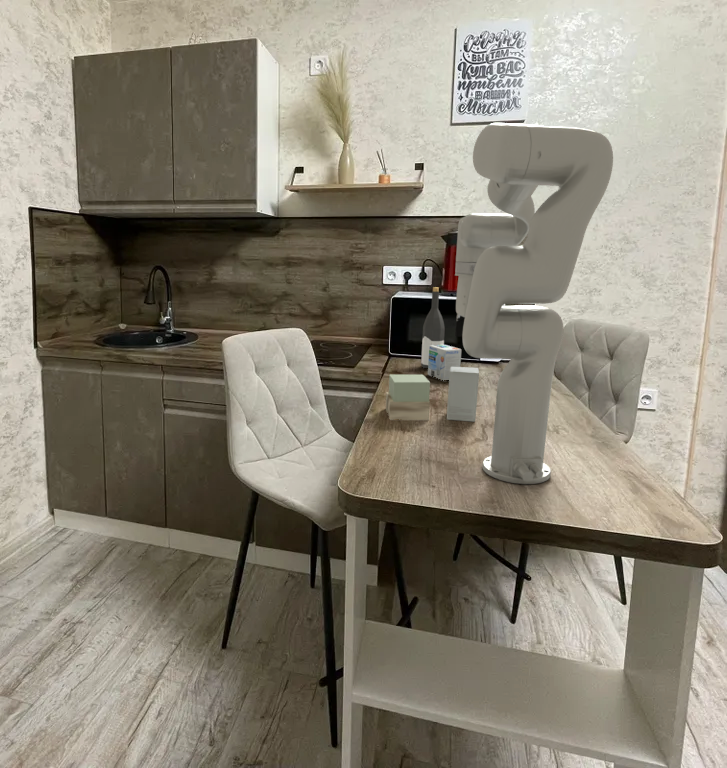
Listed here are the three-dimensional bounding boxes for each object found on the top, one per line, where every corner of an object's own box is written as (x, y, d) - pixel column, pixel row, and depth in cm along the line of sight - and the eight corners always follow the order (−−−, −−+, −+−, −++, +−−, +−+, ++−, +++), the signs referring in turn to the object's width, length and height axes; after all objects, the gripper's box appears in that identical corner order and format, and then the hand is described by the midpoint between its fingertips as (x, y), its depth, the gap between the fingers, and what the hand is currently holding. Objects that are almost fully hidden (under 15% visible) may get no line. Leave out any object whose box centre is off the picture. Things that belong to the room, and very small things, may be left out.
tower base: (428, 421, 131) (429, 402, 130) (389, 421, 131) (390, 402, 129) (422, 410, 141) (423, 392, 140) (385, 410, 140) (386, 392, 139)
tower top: (429, 401, 131) (430, 382, 129) (393, 401, 130) (394, 382, 129) (421, 392, 139) (422, 374, 138) (388, 392, 138) (389, 374, 137)
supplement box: (475, 422, 130) (479, 373, 127) (446, 419, 132) (449, 371, 129) (475, 414, 137) (479, 367, 134) (447, 411, 139) (450, 365, 136)
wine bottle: (446, 368, 196) (451, 287, 189) (430, 370, 191) (434, 288, 185) (433, 364, 202) (437, 286, 195) (416, 366, 198) (420, 286, 191)
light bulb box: (427, 375, 184) (428, 345, 181) (443, 373, 187) (444, 344, 184) (443, 381, 174) (445, 349, 172) (460, 380, 177) (462, 348, 175)
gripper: (496, 271, 118) (490, 345, 122) (476, 269, 135) (471, 334, 139) (464, 270, 117) (459, 345, 122) (448, 268, 134) (444, 334, 138)
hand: (465, 339), depth 130 cm, fingers open, 9 cm apart
